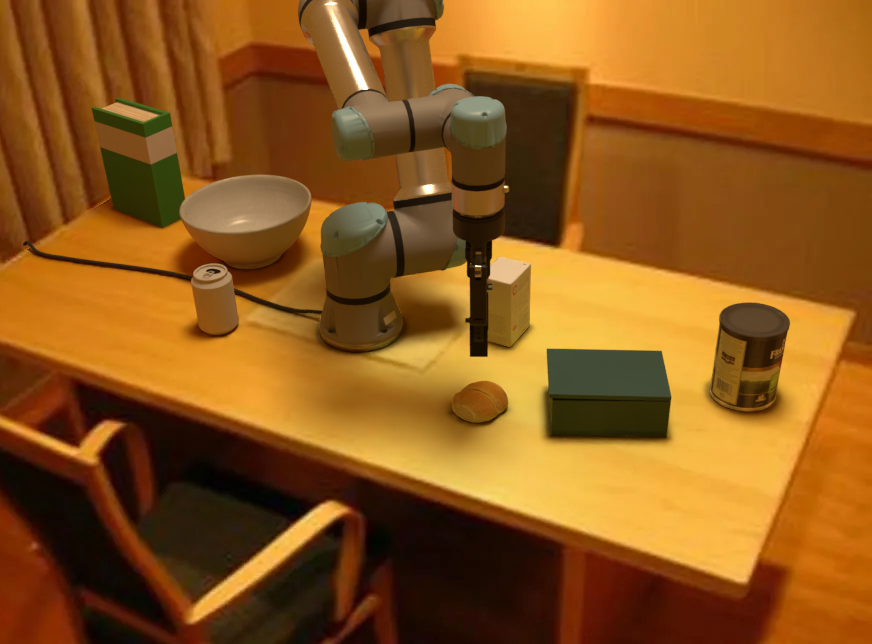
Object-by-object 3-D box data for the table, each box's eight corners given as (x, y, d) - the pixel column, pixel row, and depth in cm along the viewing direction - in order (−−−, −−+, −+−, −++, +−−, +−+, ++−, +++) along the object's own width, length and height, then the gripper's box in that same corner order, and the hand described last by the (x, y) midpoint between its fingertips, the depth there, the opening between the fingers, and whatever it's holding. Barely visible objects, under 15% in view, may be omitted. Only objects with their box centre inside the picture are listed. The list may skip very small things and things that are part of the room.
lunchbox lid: (549, 398, 164) (549, 393, 164) (546, 352, 174) (546, 348, 174) (670, 401, 162) (671, 396, 162) (661, 354, 172) (661, 350, 172)
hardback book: (113, 208, 248) (91, 108, 234) (138, 196, 252) (118, 97, 239) (162, 227, 238) (143, 124, 224) (188, 215, 242) (170, 112, 228)
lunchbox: (550, 435, 168) (552, 400, 164) (548, 388, 178) (549, 354, 175) (666, 437, 166) (671, 401, 162) (657, 389, 176) (661, 355, 172)
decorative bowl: (162, 264, 224) (151, 211, 217) (252, 215, 240) (245, 164, 233) (253, 300, 209) (244, 245, 202) (343, 245, 225) (338, 192, 218)
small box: (498, 318, 198) (499, 255, 190) (530, 326, 194) (532, 262, 187) (478, 339, 192) (477, 275, 185) (510, 348, 189) (511, 283, 182)
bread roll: (516, 404, 176) (517, 384, 173) (482, 430, 171) (482, 410, 168) (476, 386, 181) (476, 366, 178) (442, 411, 175) (441, 391, 173)
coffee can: (783, 384, 175) (797, 310, 167) (766, 418, 168) (780, 343, 160) (719, 368, 180) (730, 295, 172) (700, 401, 173) (710, 327, 165)
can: (246, 320, 203) (238, 264, 196) (226, 340, 198) (217, 283, 191) (212, 313, 206) (203, 258, 199) (192, 333, 201) (181, 277, 194)
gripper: (504, 239, 146) (503, 378, 159) (504, 178, 162) (503, 308, 175) (449, 240, 147) (452, 378, 160) (454, 178, 163) (457, 308, 176)
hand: (479, 341), depth 168 cm, fingers open, 7 cm apart
